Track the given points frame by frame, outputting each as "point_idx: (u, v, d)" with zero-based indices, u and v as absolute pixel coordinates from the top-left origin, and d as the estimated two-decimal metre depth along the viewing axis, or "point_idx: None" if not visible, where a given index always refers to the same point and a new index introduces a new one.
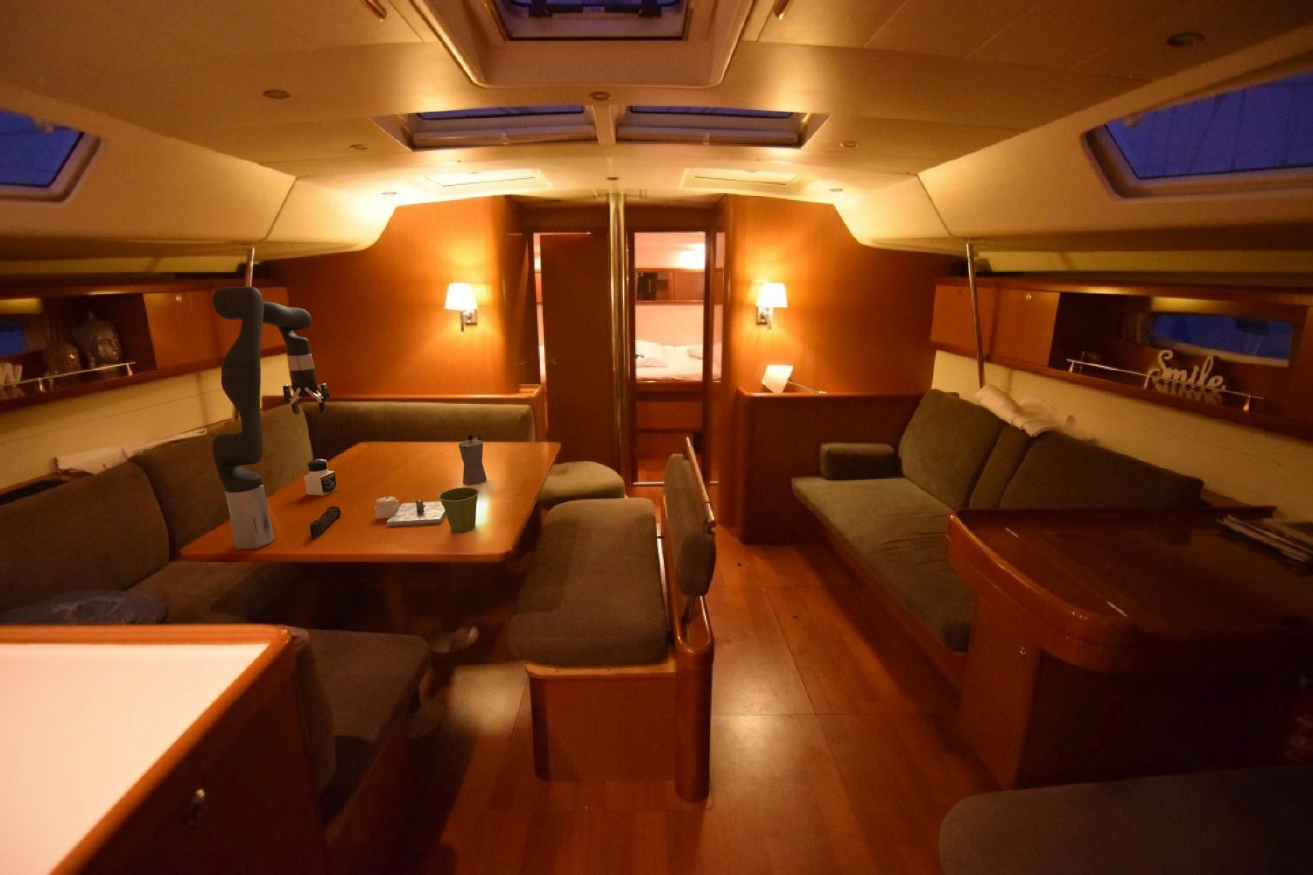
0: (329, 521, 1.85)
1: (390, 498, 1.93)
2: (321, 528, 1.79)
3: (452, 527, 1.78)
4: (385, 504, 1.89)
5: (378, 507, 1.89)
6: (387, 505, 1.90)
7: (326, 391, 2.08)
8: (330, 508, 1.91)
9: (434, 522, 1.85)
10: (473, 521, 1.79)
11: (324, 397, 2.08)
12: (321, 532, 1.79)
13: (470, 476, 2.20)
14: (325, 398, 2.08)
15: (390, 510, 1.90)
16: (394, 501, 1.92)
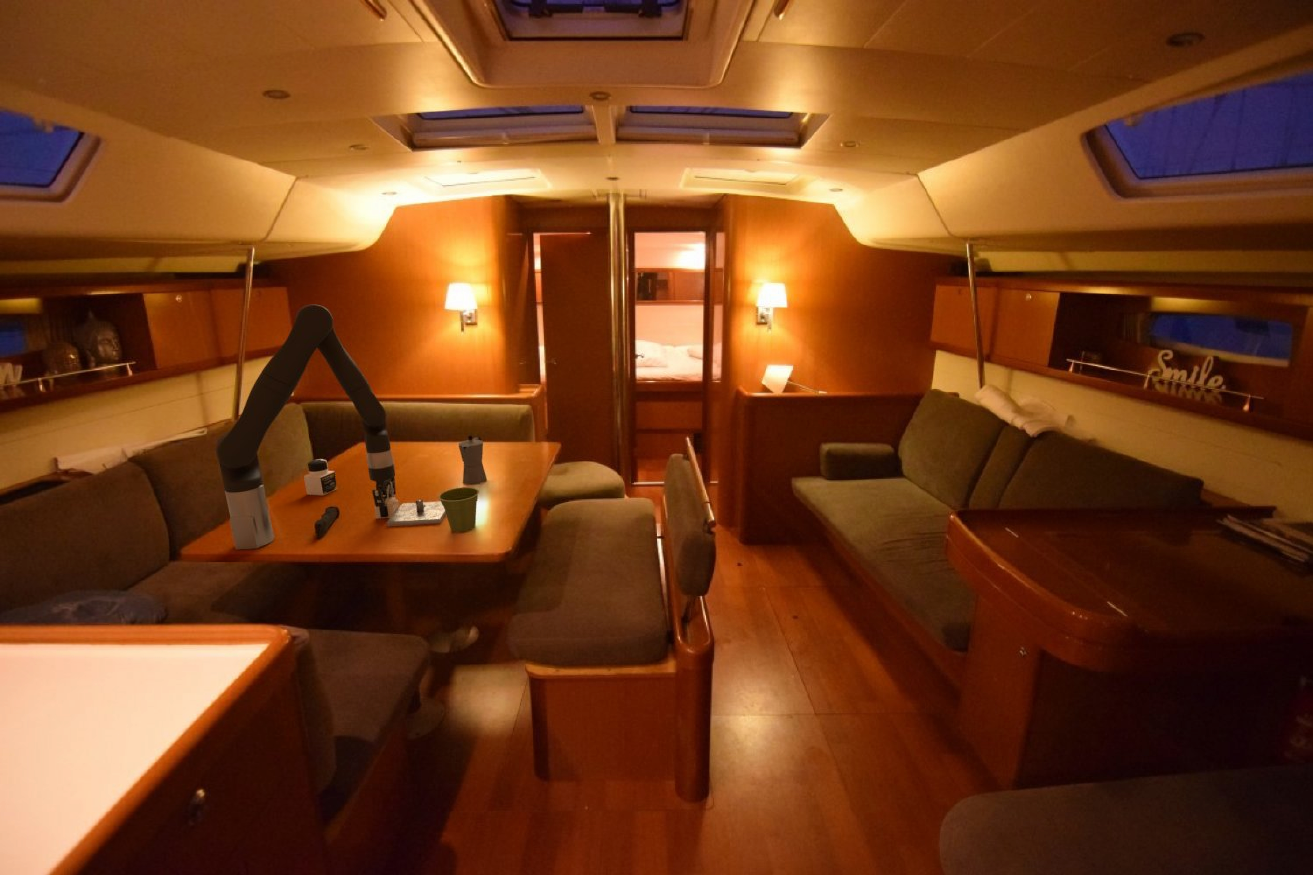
0: (331, 521, 1.85)
1: (390, 498, 1.93)
2: (325, 528, 1.79)
3: (452, 527, 1.78)
4: None
5: (378, 507, 1.89)
6: (387, 505, 1.90)
7: None
8: (329, 508, 1.90)
9: (434, 522, 1.85)
10: (473, 521, 1.79)
11: (394, 490, 1.97)
12: (325, 531, 1.79)
13: (470, 476, 2.20)
14: (395, 491, 1.97)
15: (390, 510, 1.90)
16: (394, 501, 1.92)
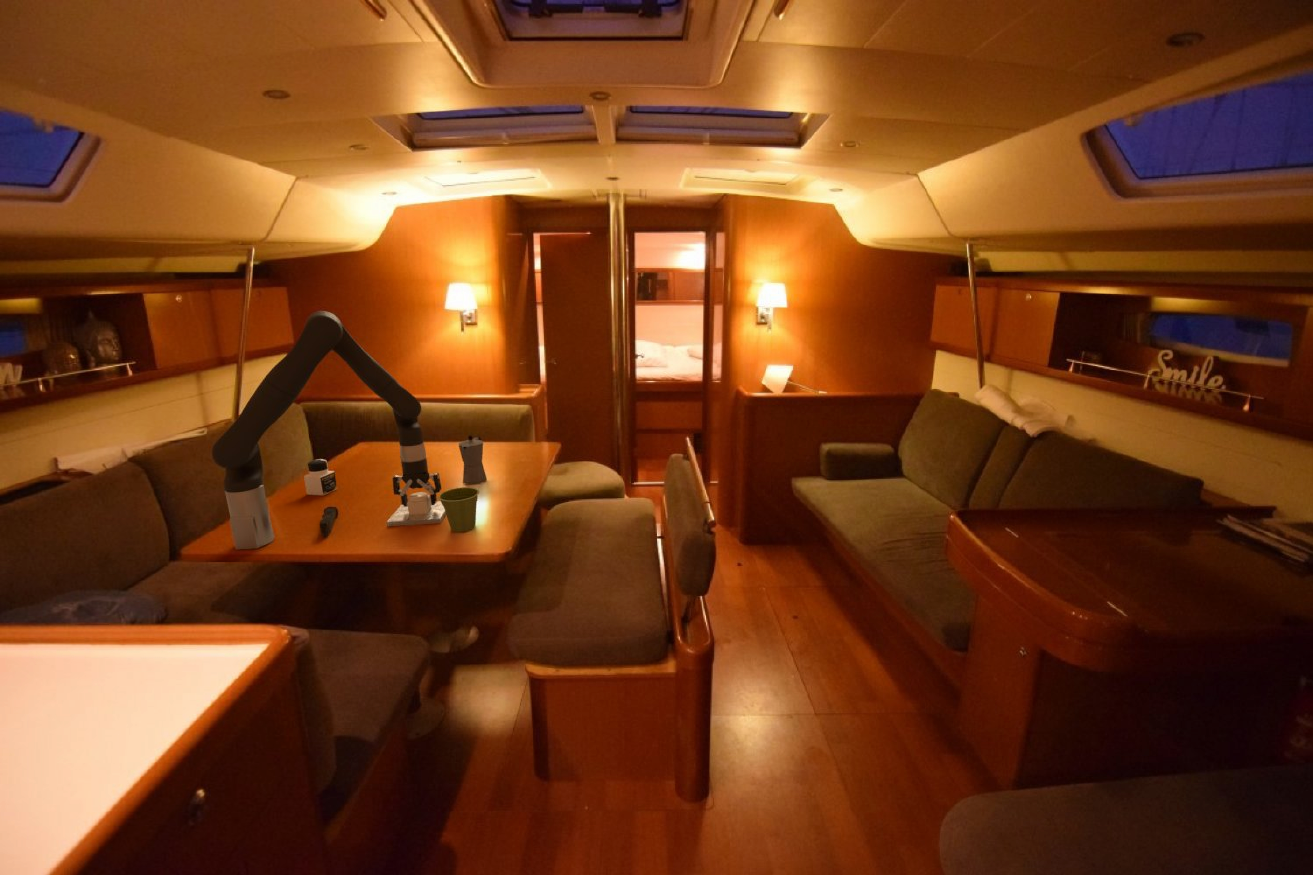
0: (332, 520, 1.85)
1: (415, 494, 1.91)
2: (329, 527, 1.80)
3: (452, 527, 1.78)
4: (427, 496, 1.91)
5: (426, 501, 1.89)
6: (428, 496, 1.92)
7: None
8: (328, 508, 1.90)
9: (434, 522, 1.85)
10: (473, 521, 1.79)
11: None
12: (329, 531, 1.80)
13: (470, 476, 2.20)
14: None
15: (429, 501, 1.93)
16: None
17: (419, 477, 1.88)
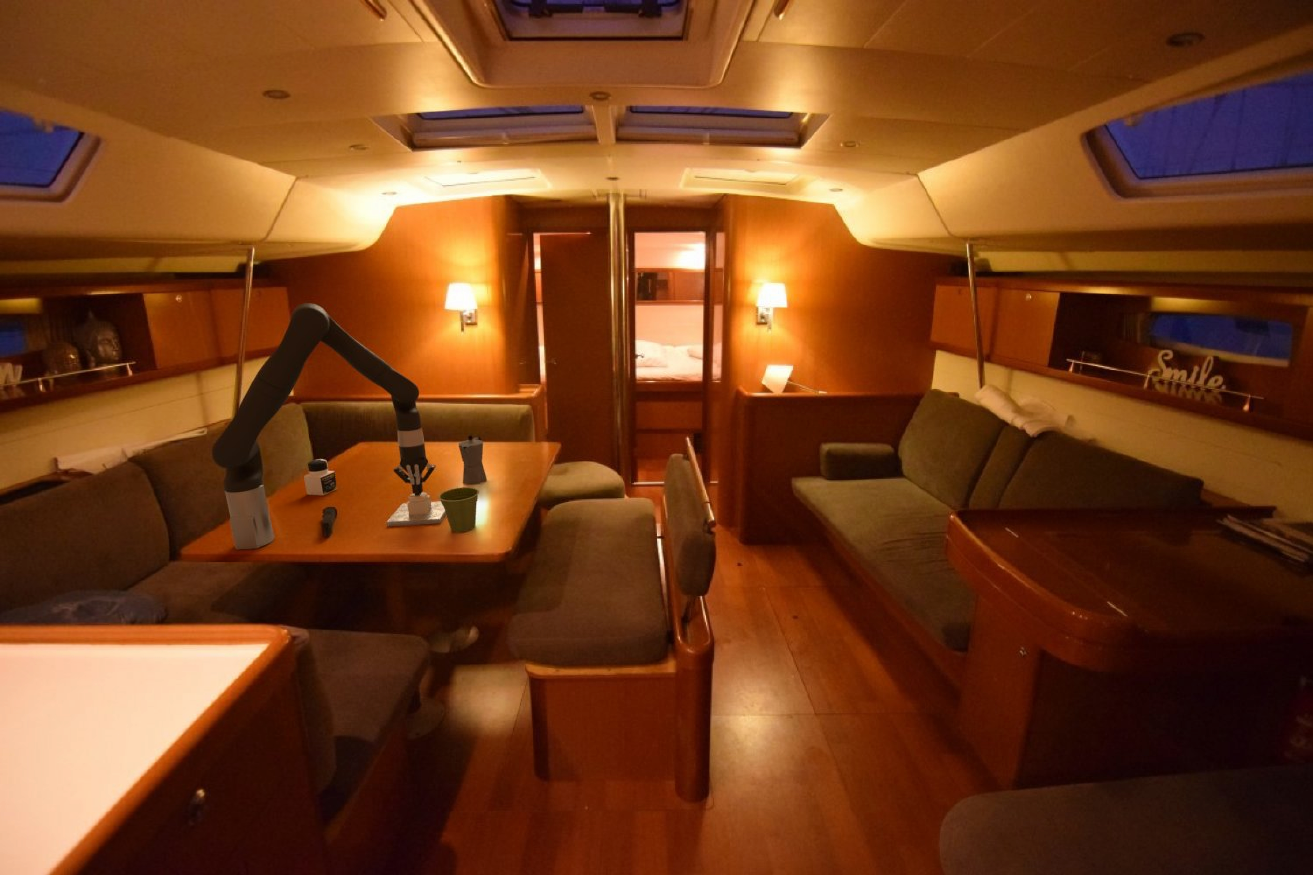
0: (333, 520, 1.85)
1: None
2: (331, 527, 1.80)
3: (452, 527, 1.78)
4: (427, 496, 1.91)
5: (426, 501, 1.89)
6: (428, 496, 1.92)
7: None
8: (327, 509, 1.90)
9: (434, 522, 1.85)
10: (473, 521, 1.79)
11: None
12: (331, 530, 1.80)
13: (470, 476, 2.20)
14: None
15: (429, 501, 1.93)
16: None
17: (417, 462, 1.87)
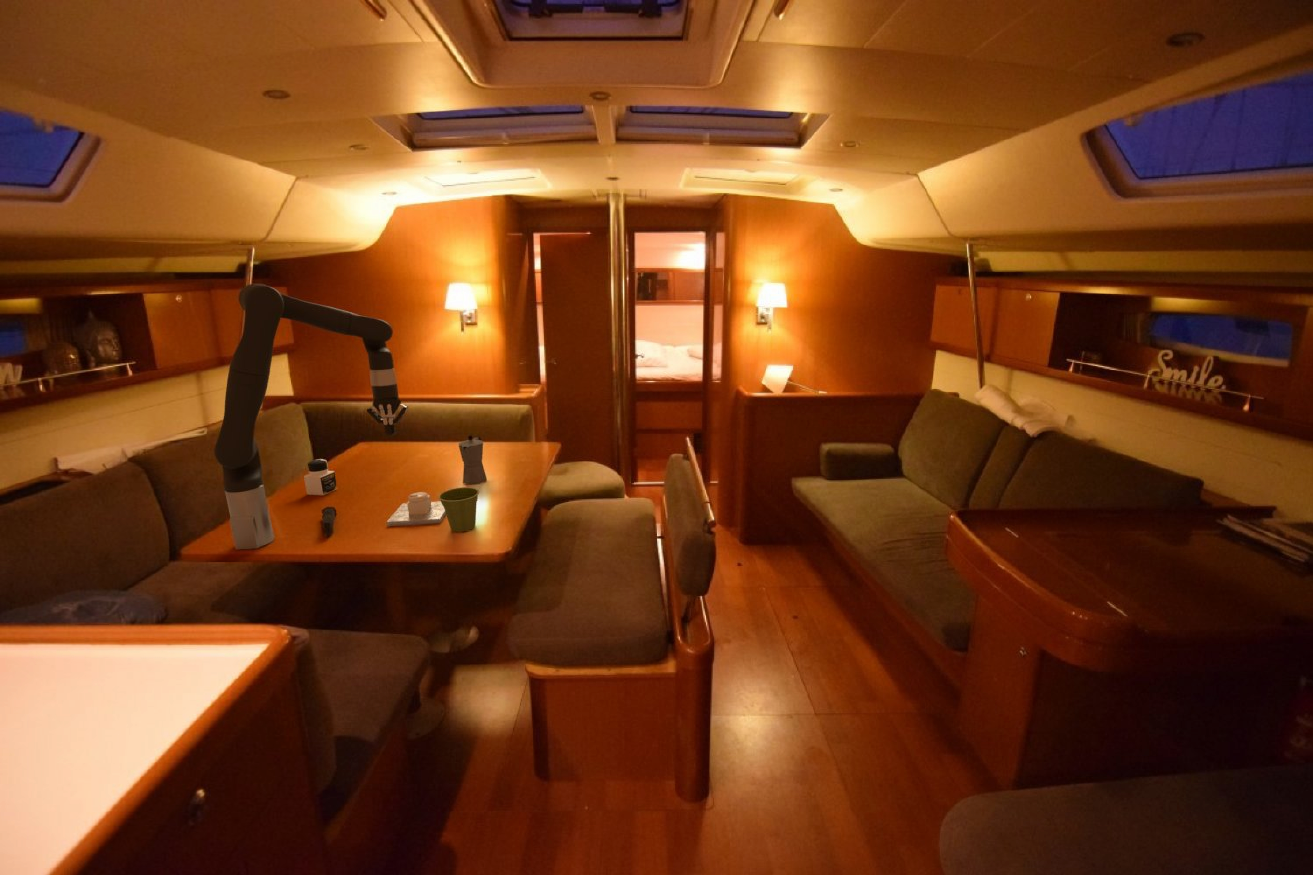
0: (333, 520, 1.85)
1: (415, 494, 1.91)
2: (332, 526, 1.80)
3: (452, 527, 1.78)
4: (427, 496, 1.91)
5: (426, 501, 1.89)
6: (428, 496, 1.92)
7: None
8: (326, 509, 1.90)
9: (434, 522, 1.85)
10: (473, 521, 1.79)
11: None
12: (332, 530, 1.80)
13: (470, 476, 2.20)
14: None
15: (429, 501, 1.93)
16: None
17: (390, 403, 1.90)
